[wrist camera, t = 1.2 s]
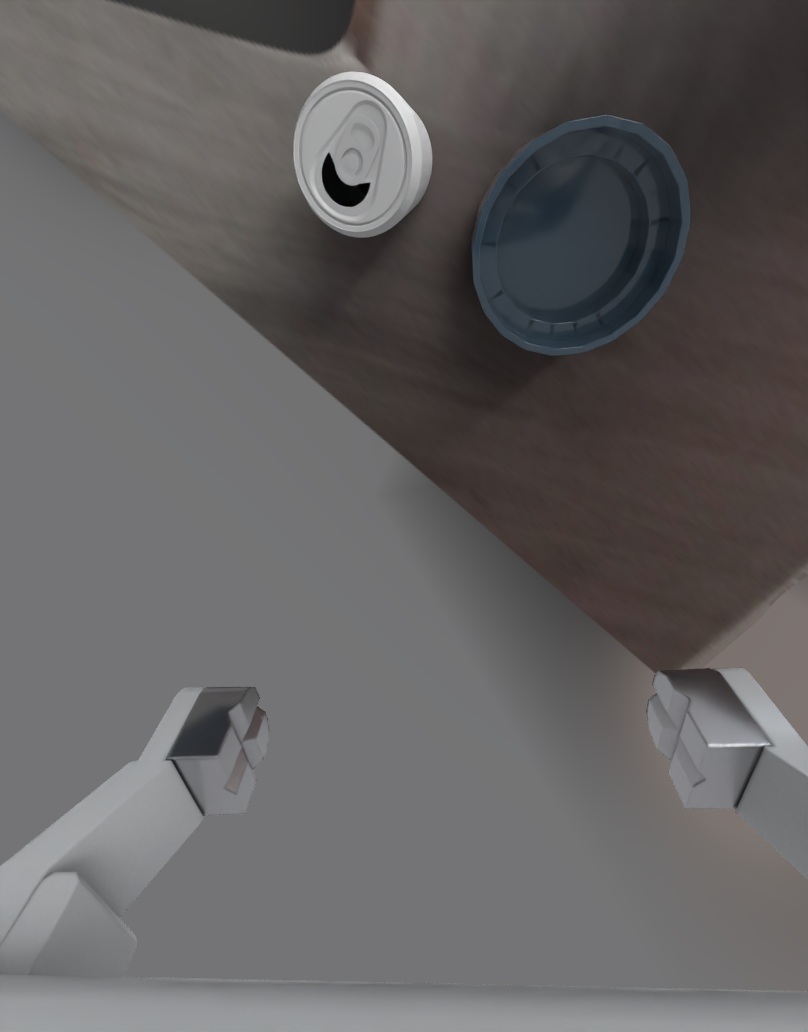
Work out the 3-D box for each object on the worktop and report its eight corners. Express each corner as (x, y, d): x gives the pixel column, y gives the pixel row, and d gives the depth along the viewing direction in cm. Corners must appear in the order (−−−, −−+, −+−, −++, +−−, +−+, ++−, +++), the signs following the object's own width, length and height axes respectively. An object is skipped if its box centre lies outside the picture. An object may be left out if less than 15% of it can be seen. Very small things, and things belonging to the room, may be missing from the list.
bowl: (648, 72, 27) (677, 59, 23) (674, 292, 34) (699, 307, 30) (444, 188, 31) (441, 191, 28) (503, 361, 38) (507, 382, 34)
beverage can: (323, 181, 32) (264, 190, 22) (367, 71, 28) (318, 26, 19) (401, 238, 33) (377, 268, 24) (452, 141, 30) (447, 131, 20)
